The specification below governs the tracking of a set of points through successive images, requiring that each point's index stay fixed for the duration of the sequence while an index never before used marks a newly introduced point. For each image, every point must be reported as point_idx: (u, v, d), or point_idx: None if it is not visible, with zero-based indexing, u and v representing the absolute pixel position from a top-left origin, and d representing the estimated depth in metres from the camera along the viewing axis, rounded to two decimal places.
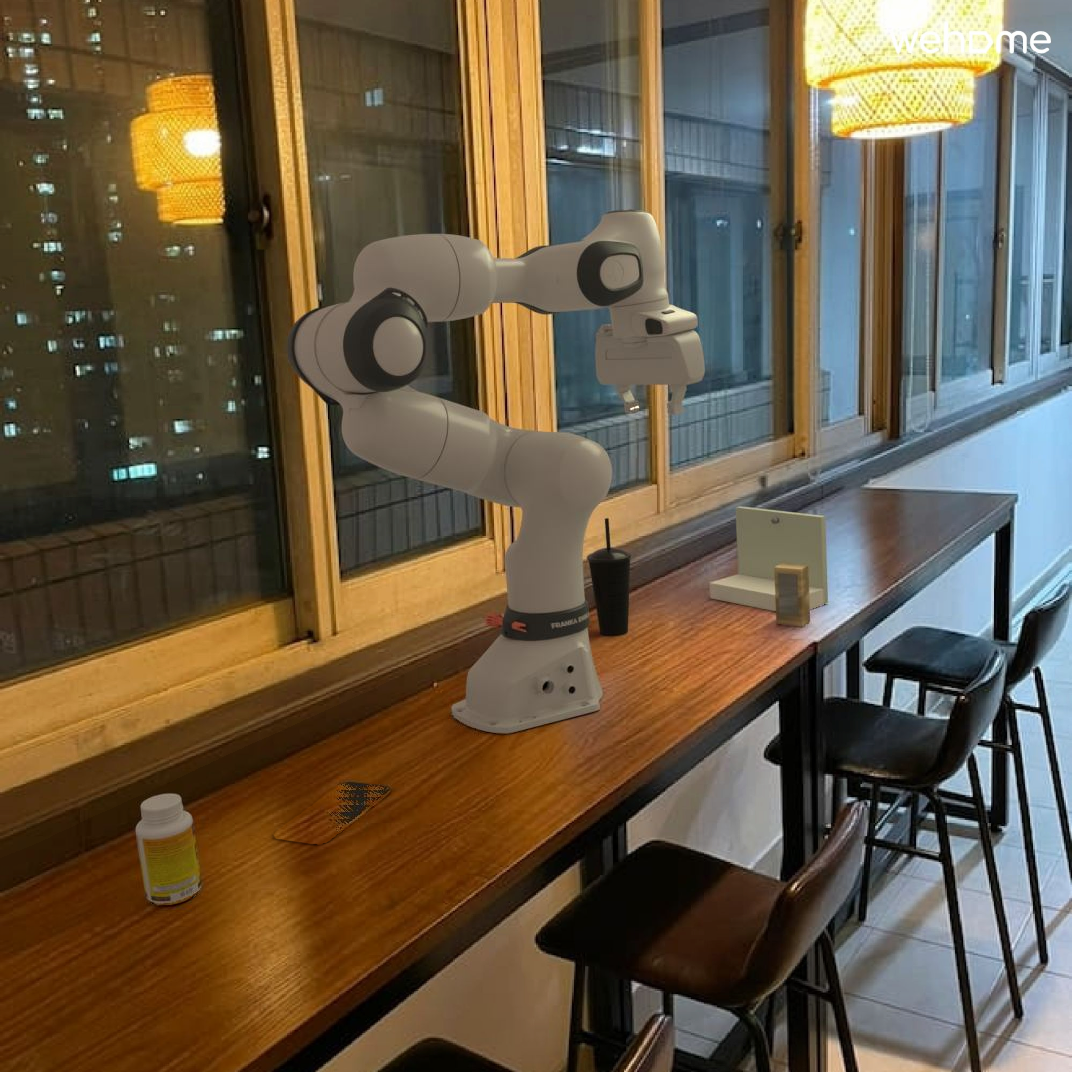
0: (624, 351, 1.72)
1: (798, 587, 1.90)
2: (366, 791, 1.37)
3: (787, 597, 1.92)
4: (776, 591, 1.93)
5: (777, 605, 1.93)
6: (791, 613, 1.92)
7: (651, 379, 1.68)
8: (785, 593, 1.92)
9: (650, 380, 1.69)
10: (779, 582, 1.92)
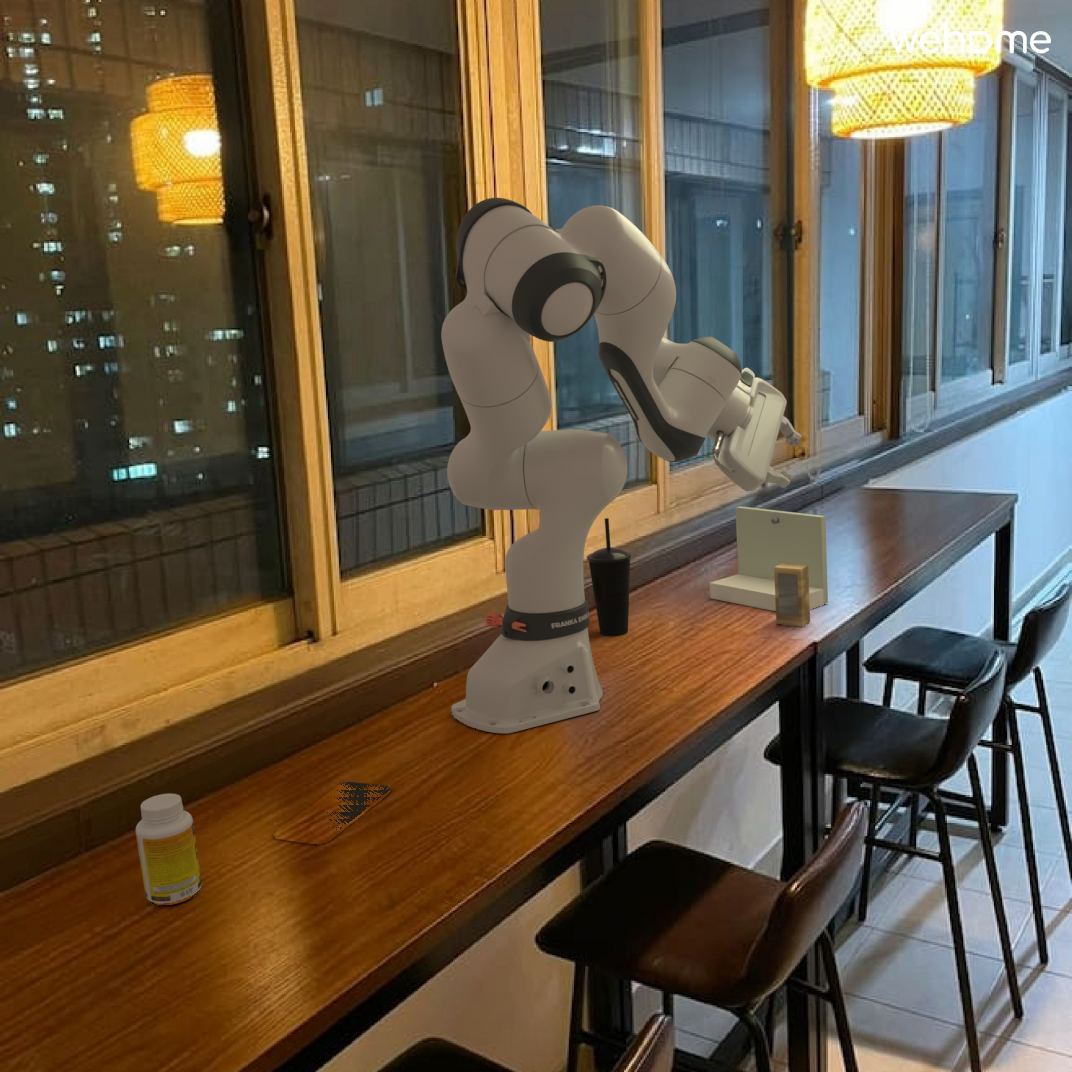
0: (746, 435, 1.73)
1: (798, 587, 1.90)
2: (366, 791, 1.37)
3: (787, 597, 1.92)
4: (776, 591, 1.93)
5: (777, 605, 1.93)
6: (791, 613, 1.92)
7: (776, 426, 1.77)
8: (785, 593, 1.92)
9: (776, 427, 1.77)
10: (779, 582, 1.92)
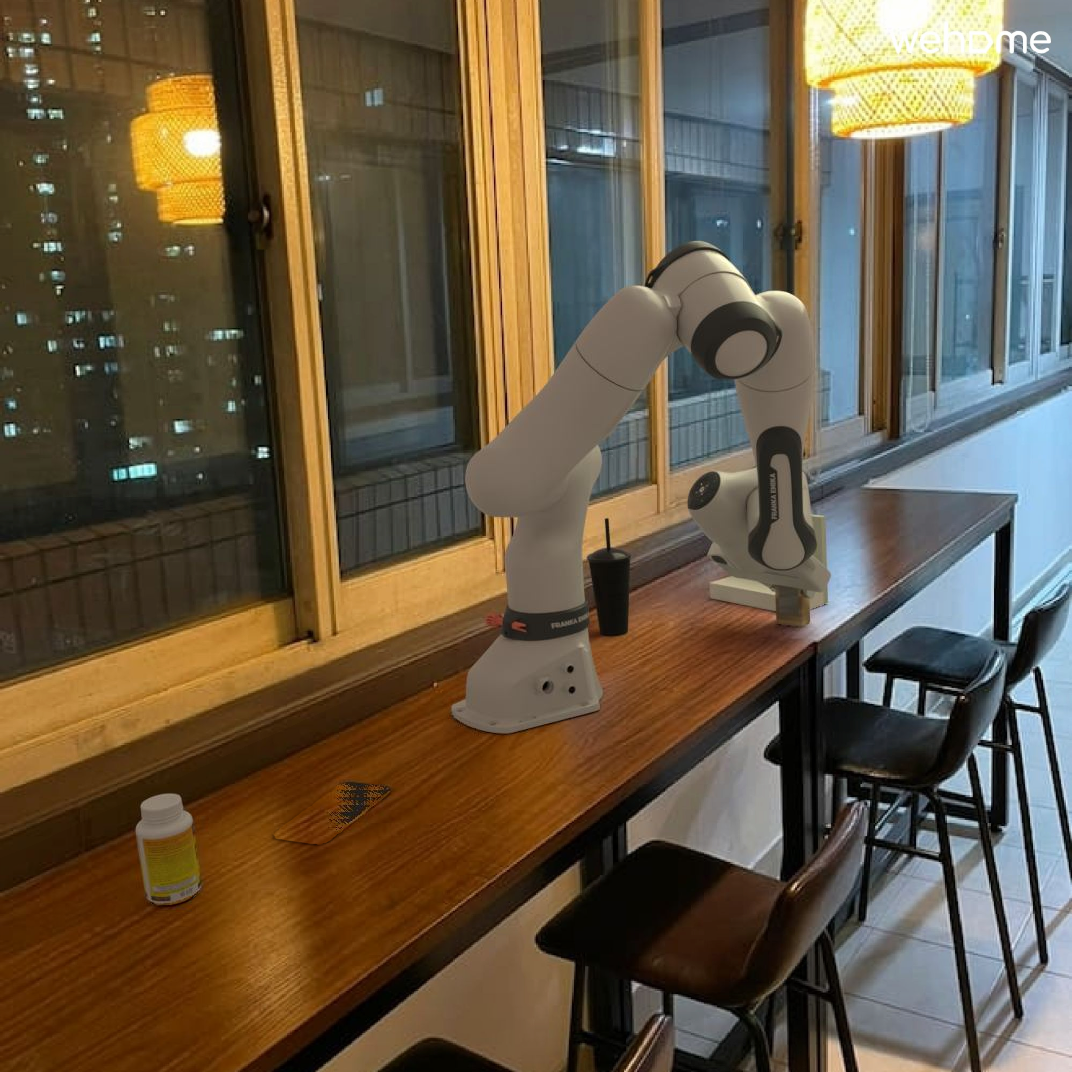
0: None
1: None
2: (366, 791, 1.37)
3: (787, 597, 1.92)
4: (776, 591, 1.93)
5: (777, 605, 1.93)
6: (791, 613, 1.92)
7: None
8: (785, 592, 1.92)
9: None
10: None
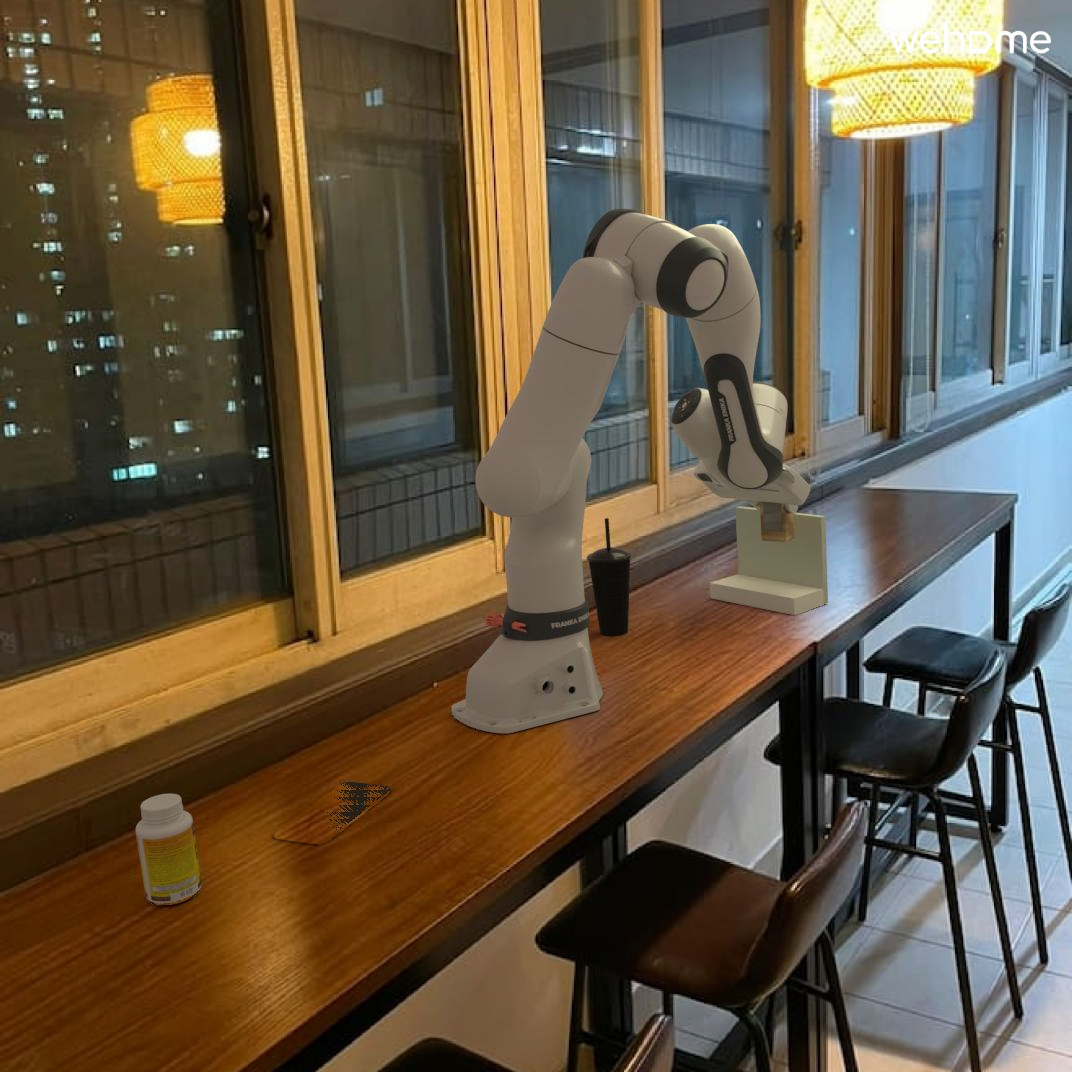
0: None
1: None
2: (366, 791, 1.37)
3: (771, 513, 2.00)
4: (761, 508, 2.01)
5: (762, 522, 2.02)
6: (775, 529, 2.00)
7: None
8: (769, 509, 2.00)
9: None
10: None
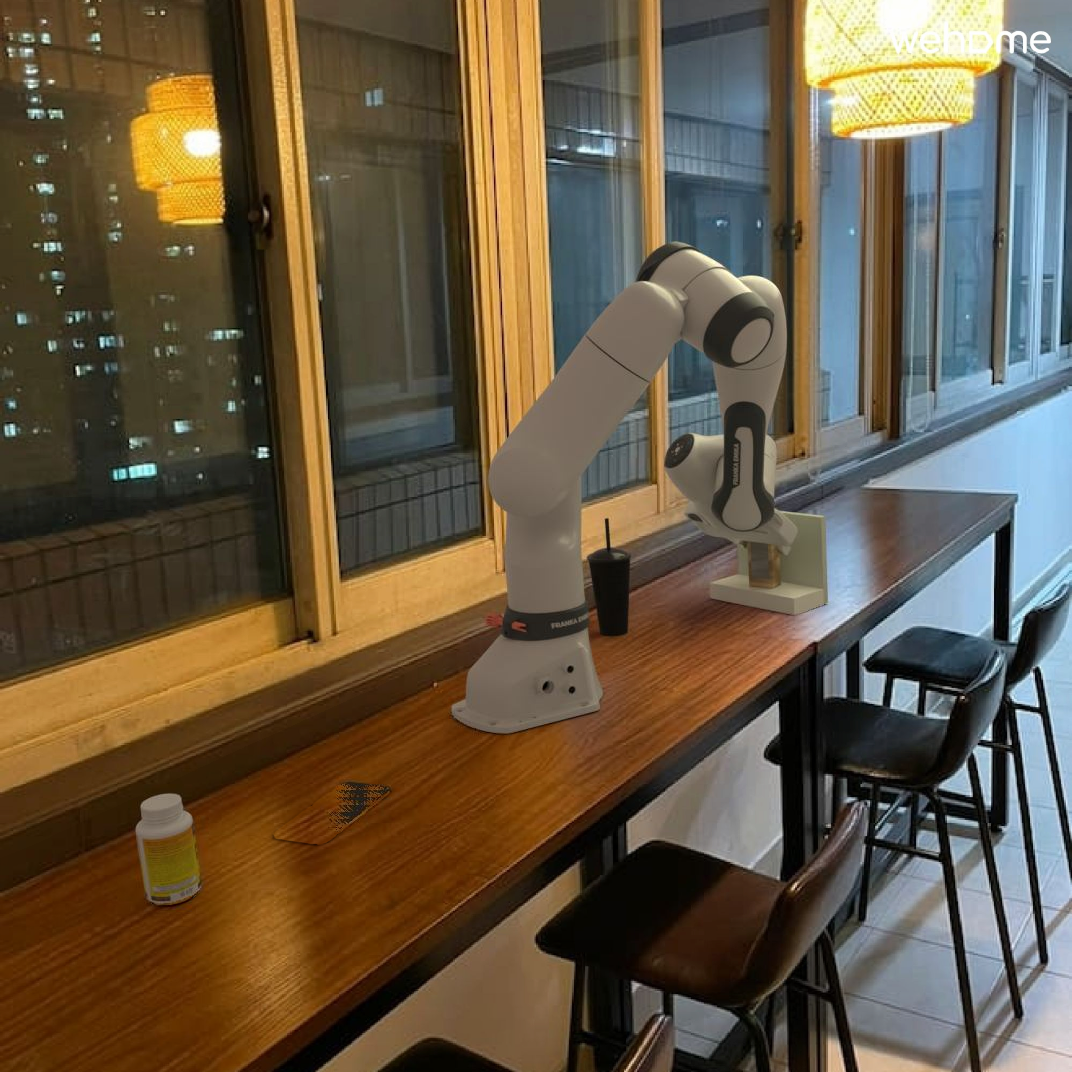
0: None
1: (769, 551, 2.05)
2: (366, 791, 1.37)
3: (758, 561, 2.06)
4: (749, 555, 2.07)
5: (750, 568, 2.08)
6: (762, 576, 2.06)
7: None
8: (757, 556, 2.06)
9: None
10: (751, 546, 2.06)
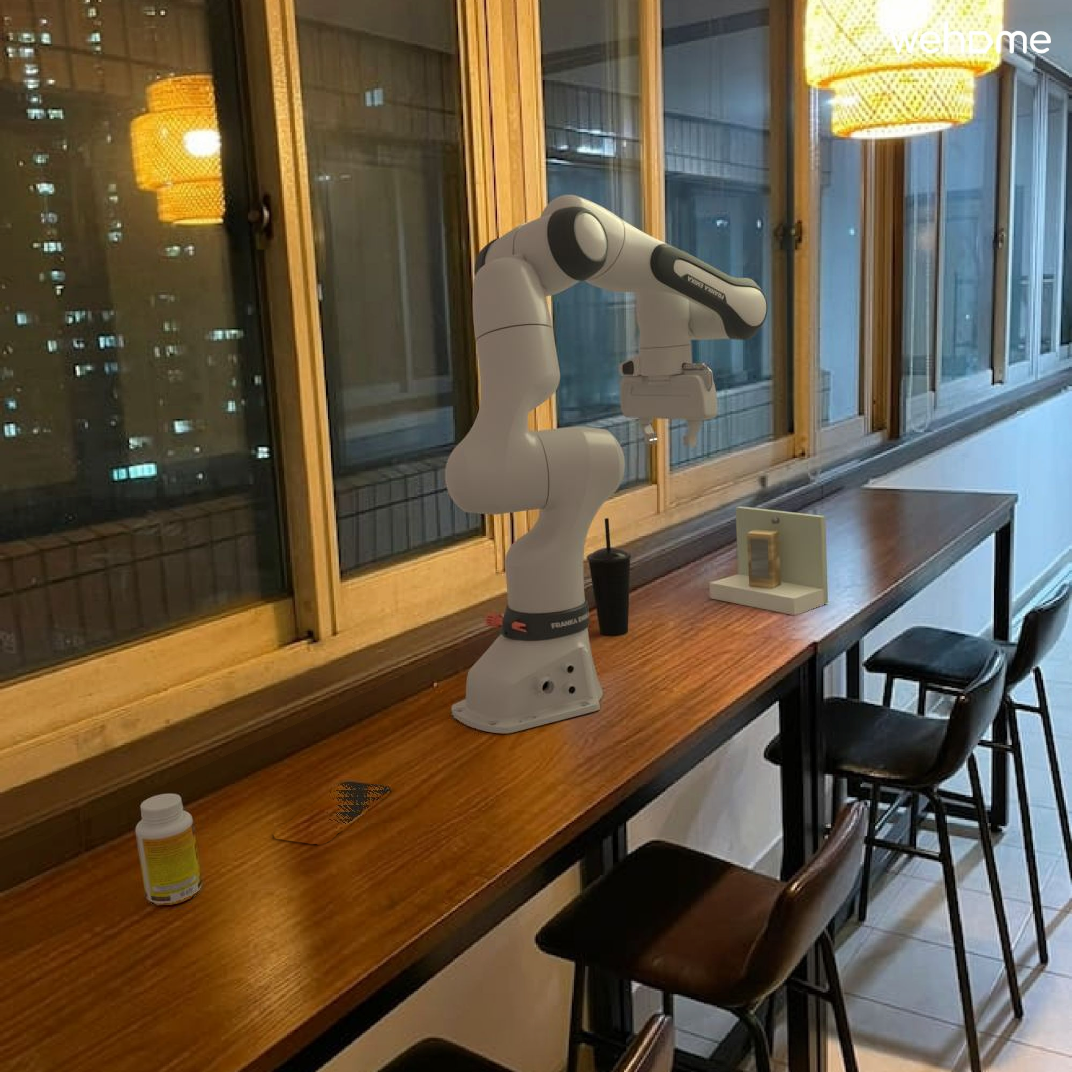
0: None
1: (769, 551, 2.05)
2: (366, 791, 1.37)
3: (758, 561, 2.06)
4: (749, 555, 2.07)
5: (750, 568, 2.08)
6: (762, 576, 2.06)
7: None
8: (757, 556, 2.06)
9: None
10: (751, 546, 2.06)
